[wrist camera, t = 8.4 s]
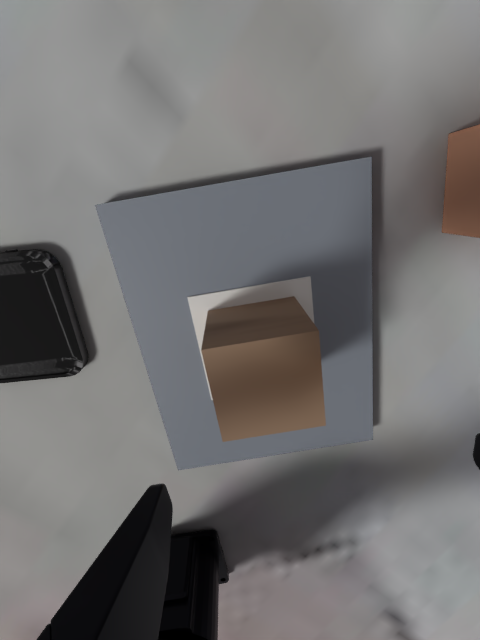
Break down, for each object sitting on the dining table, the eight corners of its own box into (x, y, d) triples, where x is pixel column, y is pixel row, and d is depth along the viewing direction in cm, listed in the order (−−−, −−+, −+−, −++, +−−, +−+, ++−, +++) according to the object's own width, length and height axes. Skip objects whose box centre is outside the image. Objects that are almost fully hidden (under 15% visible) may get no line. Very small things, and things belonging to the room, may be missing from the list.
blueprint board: (366, 429, 23) (373, 440, 22) (180, 459, 23) (177, 471, 22) (363, 159, 16) (372, 156, 15) (102, 204, 16) (94, 204, 15)
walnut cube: (301, 371, 19) (326, 425, 15) (223, 384, 19) (222, 441, 15) (294, 296, 17) (318, 330, 13) (207, 310, 18) (201, 349, 13)
